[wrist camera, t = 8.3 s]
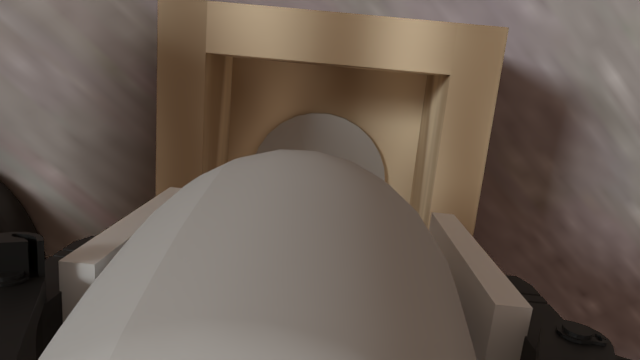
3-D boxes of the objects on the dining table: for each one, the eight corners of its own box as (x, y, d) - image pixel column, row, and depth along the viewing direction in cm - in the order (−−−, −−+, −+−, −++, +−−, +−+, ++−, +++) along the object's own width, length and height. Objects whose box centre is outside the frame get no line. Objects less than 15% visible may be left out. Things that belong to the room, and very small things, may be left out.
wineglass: (275, 262, 26) (46, 928, 6) (227, 135, 25) (-315, 412, 4) (405, 223, 25) (679, 835, 5) (363, 89, 24) (503, 158, 3)
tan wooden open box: (198, 257, 28) (154, 313, 22) (206, 17, 25) (157, -4, 19) (426, 279, 28) (454, 344, 21) (462, 40, 25) (508, 27, 18)
